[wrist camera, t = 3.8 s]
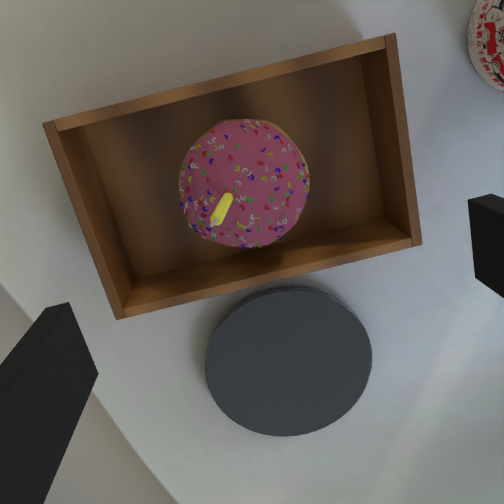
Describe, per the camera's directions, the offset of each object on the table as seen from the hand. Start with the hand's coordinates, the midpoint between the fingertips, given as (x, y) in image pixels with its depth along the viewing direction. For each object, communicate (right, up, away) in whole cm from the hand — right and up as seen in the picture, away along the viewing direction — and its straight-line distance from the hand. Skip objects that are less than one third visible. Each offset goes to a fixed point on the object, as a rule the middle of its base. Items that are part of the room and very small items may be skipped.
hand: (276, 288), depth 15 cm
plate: (+2, -8, +25) cm, 27 cm away
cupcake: (-2, +7, +20) cm, 21 cm away
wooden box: (-2, +7, +20) cm, 21 cm away
